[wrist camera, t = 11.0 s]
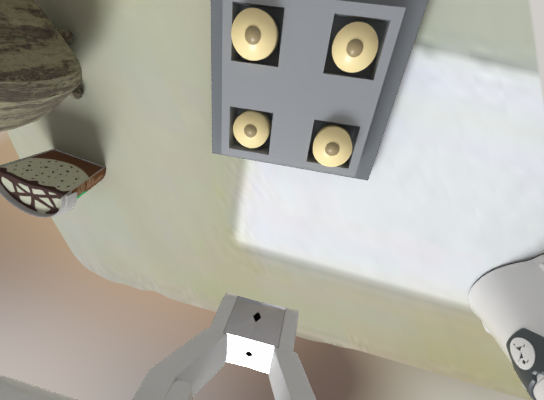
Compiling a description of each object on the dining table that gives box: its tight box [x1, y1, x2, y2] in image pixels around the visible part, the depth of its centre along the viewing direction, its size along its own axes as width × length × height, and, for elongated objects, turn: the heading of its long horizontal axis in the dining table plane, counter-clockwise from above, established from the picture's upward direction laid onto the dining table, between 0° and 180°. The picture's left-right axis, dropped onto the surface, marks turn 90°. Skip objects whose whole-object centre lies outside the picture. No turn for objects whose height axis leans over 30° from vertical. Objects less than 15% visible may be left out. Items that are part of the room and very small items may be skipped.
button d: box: [231, 8, 279, 61], centre depth 27 cm, size 4×4×2 cm
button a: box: [313, 124, 352, 167], centre depth 31 cm, size 4×4×2 cm
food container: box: [0, 149, 106, 218], centre depth 43 cm, size 12×6×10 cm, turn 73°
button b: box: [233, 109, 272, 148], centre depth 34 cm, size 4×4×2 cm
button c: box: [332, 22, 378, 73], centre depth 27 cm, size 4×4×2 cm
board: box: [211, 0, 428, 180], centre depth 30 cm, size 22×26×5 cm
